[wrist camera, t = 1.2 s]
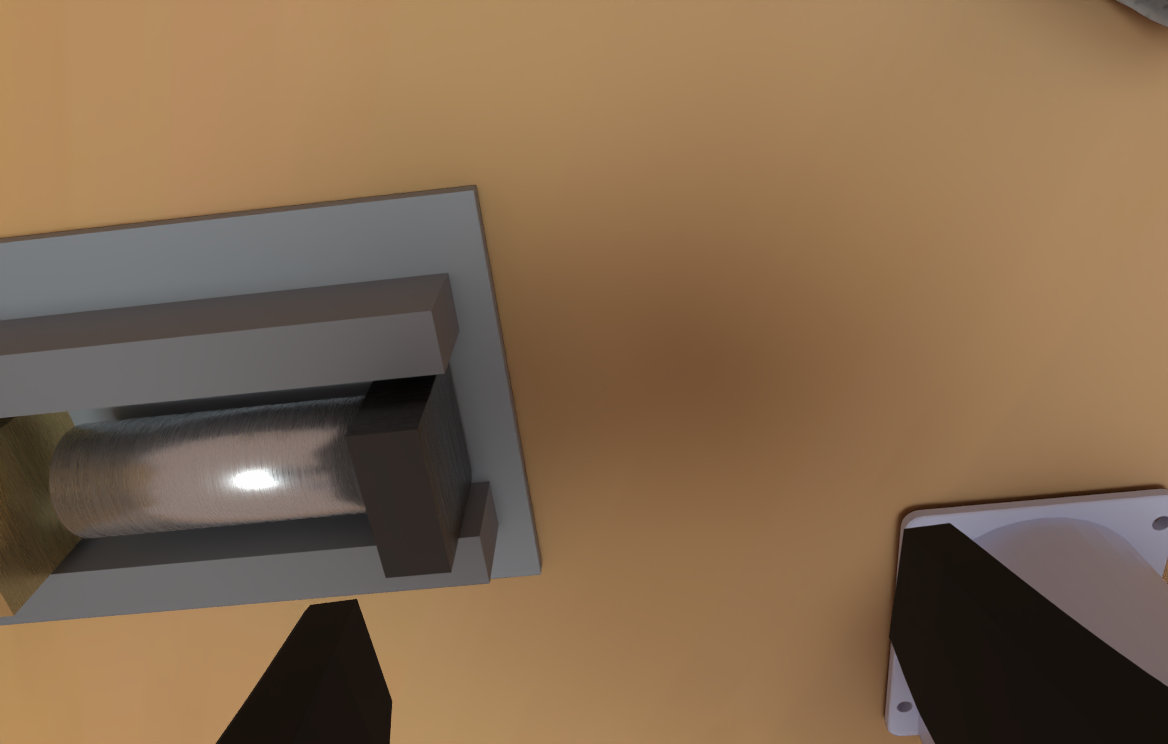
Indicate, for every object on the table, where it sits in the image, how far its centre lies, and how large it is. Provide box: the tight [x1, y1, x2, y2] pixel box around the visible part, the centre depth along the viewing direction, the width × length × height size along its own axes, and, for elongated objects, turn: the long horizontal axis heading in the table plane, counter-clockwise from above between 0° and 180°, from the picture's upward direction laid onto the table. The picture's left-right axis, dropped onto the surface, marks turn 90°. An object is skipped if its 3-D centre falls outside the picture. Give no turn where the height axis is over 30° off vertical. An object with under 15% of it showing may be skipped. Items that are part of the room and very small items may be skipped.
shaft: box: [49, 363, 472, 578], centre depth 20 cm, size 4×10×4 cm, turn 96°
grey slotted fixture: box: [0, 185, 542, 625], centre depth 20 cm, size 12×24×7 cm, turn 96°
